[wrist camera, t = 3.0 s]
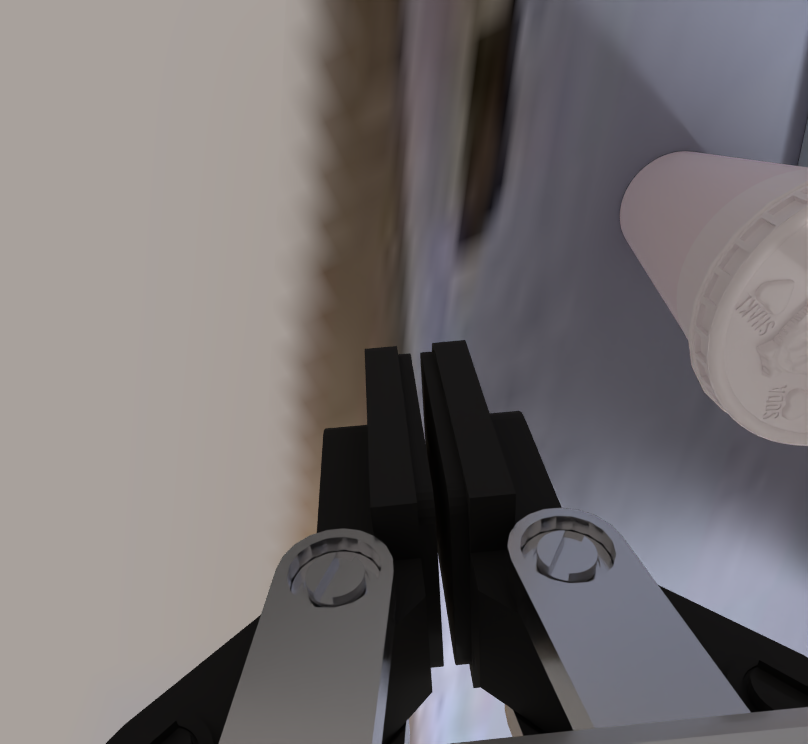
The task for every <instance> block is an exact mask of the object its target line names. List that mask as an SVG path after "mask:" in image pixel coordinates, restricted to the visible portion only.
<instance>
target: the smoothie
mask: <svg viewBox="0 0 808 744" xmlns="http://www.w3.org/2000/svg"><path fill="white" fill-rule="evenodd" d="M620 225H621V229H622V232H623V235H624V237H625V239H626V241H627V242H628V244H629V245H630V247H631V249H632V250H633V252H634V253H635V255H636V257H637V258H638V260H639V261H640V263H641V265H642V266H643V268H644V270H645V271H646V273H647V274H648V276H649V278H650V279H651V281H652V282H653V284H654V286H655V287H656V289H657V290H658V292H659V294H660V295H661V297H662V298H663V300H664V302H665V303H666V305H667V306H668V308H669V310H670V311H671V313H672V314H673V316H674V318H675V319H676V321H677V322H678V324H679V326H680V327H681V329H682V330H683V332H684V334H685V336H686V338H687V339H688V342H689V350H690V359H691V366H692V368H693V370H694V372H695V374H696V376H697V378H698V380H699V383H700V385H701V387H702V389H703V391H704V392H705V393H706V394H707V395H708V396H709V397H710V398H711V399H712V400H713V401H714V402H715V403H716V404H717V405H718V406H719V407H720V408H721V409H722V410H723V411H724V412H726V413H728V414H729V415H730V417H731V418H732V419H733V420H735V421H736V422H737V423H738V424H739V425H740V426H742V427H743V428H745V429H746V430H748V431H749V432H751V433H753V434H755V435H757V436H759V437H762V438H765V439H767V440H770V441H774V442H778V443H782V444H789V445H798V446H808V167H802V166H794V165H787V164H779V163H772V162H765V161H757V160H750V159H742V158H735V157H728V156H720V155H713V154H705V153H698V152H690V151H681V152H674V153H670V154H667V155H664V156H662V157H659V158H657V159H655V160H654V161H652V162H651V163H649V164H648V165H647V166H645V167H644V168H643V169H642V170H641V171H640V172H639V173H638V174H637V175H636V176H635V177H634V179H633V180H632V181H631V183H630V184H629V186H628V188H627V190H626V192H625V194H624V197H623V200H622V203H621V208H620Z"/></svg>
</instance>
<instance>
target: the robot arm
mask: <svg viewBox="0 0 808 744" xmlns="http://www.w3.org/2000/svg"><path fill="white" fill-rule="evenodd" d="M420 359H421V376H422V393H423V410H424V426H425V439H424V433H423V427H422V421H421V414H420V408H419V402H418V396H417V390H416V384H415V378H414V372H413V366H412V360H411V354H399V355H398V350H397V346H394V347H383V348H371V349H365V370H366V398H367V425H361V426H350V427H339V428H328V429H325V430H324V434H323V448H322V463H321V478H320V493H319V508H318V524H317V533H316V534H313V535H310V536H308V537H307V538H305V539H303V540H301V541H300V542H298V543H296V544H295V545H294V546H293V547H292V548H291V549H290V550H289V551H288V552H287V553H286V554H285V555H284V556H283V557H282V559H281V561H280V563H279V565H278V567H277V568H276V571H275V574H274V577H273V580H272V583H271V586H270V589H269V592H268V595H267V598H266V601H265V604H264V607H263V610H262V613H261V615H260V616H259V617H258V618H256V619H255V620H254V621H253V622H251V623H250V624H249V625H248V626H246V627H245V628H244V629H243V630H241V631H240V632H239V633H238V634H237V635H235V636H234V637H233V638H231V639H230V640H229V641H228V642H227V643H225V644H224V645H223V646H222V647H220V648H219V649H218V650H217V651H215V652H214V653H213V654H212V655H210V656H209V657H208V658H207V659H206V660H204V661H203V662H202V663H200V664H199V665H198V666H197V667H196V668H194V669H193V670H192V671H191V672H189V673H188V674H187V675H186V676H184V677H183V678H182V679H181V680H180V681H178V682H177V683H176V684H175V685H174V686H172V687H171V688H170V689H168V690H167V691H166V692H165V693H163V694H162V695H161V696H160V697H159V698H157V699H156V700H155V701H153V702H152V703H151V704H150V705H148V706H147V707H146V708H145V709H143V710H142V711H141V712H140V713H139V714H137V715H136V716H135V717H134V718H132V719H131V720H130V721H129V722H127V723H126V724H125V725H124V726H123V727H122V728H121V729H120V730H119V731H118V732H117V733H116V734H115V735H114V736H113V737H112V738H111V739H110V740H109V741H108V742H107V743H106V744H409V741H410V729H409V718H410V717H411V715H412V714H413V713H414V712H415V711H416V710H417V709H418V707H419V706H420V705H421V704H422V703H423V702H424V701H425V700H426V698H427V697H428V696H429V695H430V694H431V693H432V680H431V668H432V667H442V666H444V661H443V642H442V623H441V605H440V586H439V568H438V557H439V563H440V570H441V576H442V583H443V589H444V596H445V602H446V609H447V615H448V621H449V628H450V634H451V641H452V647H453V654H454V660H455V664H456V665H462V664H469V665H470V671H471V676H472V682H473V688H480V687H481V688H482V689H484V690H485V691H487V692H488V693H490V694H491V695H493V696H494V697H495V698H497V699H498V700H500V701H501V702H503V703H504V704H505V713H506V718H507V722H508V726H509V728H510V731H511V734H512V736H513V737H508V738H499V739H489V740H480V741H470V742H461V743H452V744H808V658H807V657H806V656H804V655H802V654H800V653H798V652H796V651H794V650H792V649H790V648H788V647H786V646H783V645H781V644H779V643H777V642H775V641H773V640H771V639H769V638H767V637H765V636H763V635H761V634H759V633H757V632H754V631H752V630H750V629H748V628H746V627H744V626H742V625H740V624H738V623H736V622H734V621H732V620H730V619H727V618H725V617H723V616H721V615H719V614H717V613H715V612H713V611H711V610H709V609H707V608H705V607H703V606H701V605H698V604H696V603H694V602H692V601H690V600H688V599H686V598H684V597H682V596H680V595H678V594H676V593H674V592H671V591H669V590H667V589H665V588H663V587H661V586H659V585H658V584H657V583H656V582H655V580H654V579H653V578H652V576H651V575H650V573H649V572H648V571H647V569H646V568H645V567H644V565H643V564H642V562H641V561H640V560H639V558H638V557H637V556H636V554H635V553H634V551H633V550H632V549H631V547H630V546H629V545H628V543H627V542H626V540H625V539H624V538H623V536H622V535H621V534H620V533H619V532H618V531H617V530H616V529H615V528H614V527H613V526H612V525H611V524H609V523H608V522H606V521H604V520H603V519H601V518H599V517H598V516H596V515H593V514H590V513H587V512H584V511H581V510H577V509H568V508H561V505H560V503H559V501H558V498H557V496H556V493H555V491H554V488H553V486H552V483H551V481H550V479H549V476H548V474H547V471H546V469H545V466H544V464H543V462H542V459H541V457H540V454H539V452H538V449H537V447H536V445H535V442H534V440H533V437H532V435H531V432H530V430H529V428H528V425H527V423H526V420H525V418H524V416H523V414H522V412H520V411H513V412H502V413H491V414H489V411H488V408H487V405H486V402H485V399H484V396H483V393H482V390H481V387H480V383H479V380H478V377H477V374H476V371H475V368H474V365H473V362H472V359H471V356H470V353H469V350H468V347H467V344H466V342H465V340H461V341H450V342H439V343H432V352H422V353H420ZM425 443H426V445H425Z"/></svg>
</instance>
